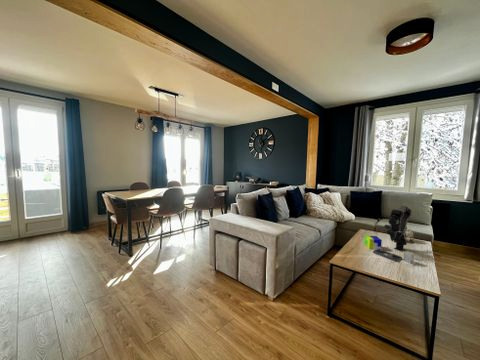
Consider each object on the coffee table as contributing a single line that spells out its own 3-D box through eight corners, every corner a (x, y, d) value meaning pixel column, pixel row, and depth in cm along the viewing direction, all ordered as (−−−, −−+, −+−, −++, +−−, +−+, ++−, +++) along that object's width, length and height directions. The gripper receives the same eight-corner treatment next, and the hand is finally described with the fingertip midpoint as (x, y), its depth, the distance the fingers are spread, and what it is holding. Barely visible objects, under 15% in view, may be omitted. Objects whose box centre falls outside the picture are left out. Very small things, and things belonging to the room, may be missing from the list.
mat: (404, 259, 167) (404, 258, 167) (416, 263, 160) (416, 263, 160) (399, 261, 164) (399, 260, 164) (411, 265, 157) (411, 265, 156)
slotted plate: (379, 250, 183) (379, 248, 183) (402, 259, 167) (402, 257, 167) (373, 252, 179) (373, 250, 178) (396, 261, 163) (396, 259, 162)
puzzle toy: (380, 250, 184) (381, 240, 183) (369, 249, 186) (369, 239, 185) (375, 245, 194) (376, 236, 193) (364, 244, 196) (365, 235, 195)
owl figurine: (391, 239, 212) (392, 224, 211) (393, 236, 220) (394, 221, 218) (413, 244, 199) (414, 228, 197) (414, 241, 206) (416, 225, 205)
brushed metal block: (405, 260, 165) (406, 250, 165) (413, 262, 161) (414, 253, 160) (403, 261, 163) (403, 252, 162) (410, 264, 159) (411, 254, 158)
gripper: (391, 219, 187) (390, 235, 188) (380, 222, 178) (379, 238, 180) (405, 223, 177) (404, 239, 178) (394, 225, 168) (393, 243, 170)
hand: (394, 240), depth 177 cm, fingers open, 9 cm apart
